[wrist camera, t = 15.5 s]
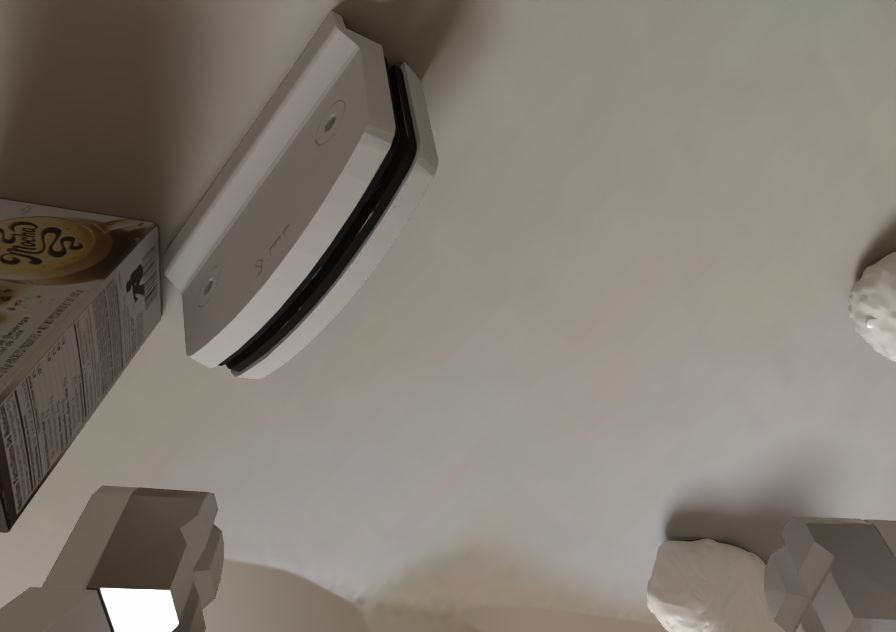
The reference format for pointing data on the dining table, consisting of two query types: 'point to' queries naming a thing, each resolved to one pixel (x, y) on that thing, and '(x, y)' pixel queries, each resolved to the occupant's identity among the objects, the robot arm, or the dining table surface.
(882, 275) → the white creature statuette
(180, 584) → the robot arm
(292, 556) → the dining table surface
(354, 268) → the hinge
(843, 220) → the dining table surface
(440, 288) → the dining table surface
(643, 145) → the dining table surface
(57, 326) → the coffee box
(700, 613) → the bust
